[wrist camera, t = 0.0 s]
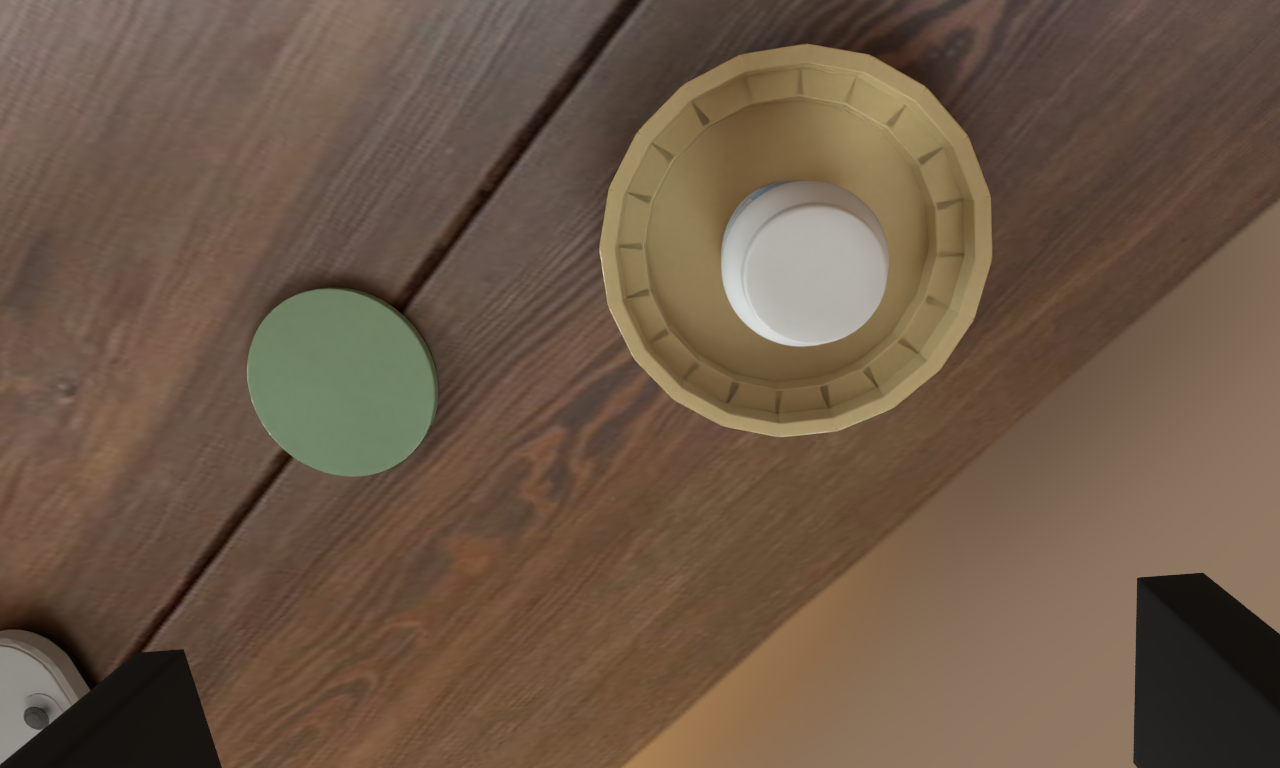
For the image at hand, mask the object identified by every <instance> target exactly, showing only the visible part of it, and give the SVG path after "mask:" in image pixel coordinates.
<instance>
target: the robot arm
mask: <svg viewBox="0 0 1280 768" xmlns="http://www.w3.org/2000/svg"><path fill="white" fill-rule="evenodd" d="M1136 619H1137V620H1136V666H1135V667H1136V668H1135V715H1134V761H1133V762H1134V764H1135V765H1136V766H1137V768H1280V634H1279V633H1277V632H1276V631H1275V630H1274V629H1272V628H1271V627H1270V626H1269V625H1267V624H1266V623H1265V622H1264V621H1262V620H1261V619H1260V618H1259V617H1257V616H1256V615H1255V614H1254V613H1252V612H1251V611H1250V610H1248V609H1247V608H1246V607H1245V606H1244V605H1242V604H1241V603H1240V602H1239V601H1238V600H1236V599H1235V598H1234V597H1233V596H1231V595H1230V594H1229V593H1228V592H1226V591H1225V590H1224V589H1223V588H1221V587H1220V586H1219V585H1218V584H1216V583H1215V582H1214V581H1213V580H1211V579H1210V578H1209V577H1208V576H1206V575H1205V574H1204V573H1194V574H1181V575H1168V576H1155V577H1141V578H1137V617H1136ZM0 768H222V767H221V764H220V761H219V758H218V755H217V752H216V749H215V745H214V742H213V739H212V736H211V733H210V730H209V727H208V724H207V721H206V718H205V714H204V711H203V708H202V705H201V702H200V699H199V696H198V693H197V690H196V687H195V683H194V680H193V677H192V674H191V671H190V668H189V665H188V662H187V659H186V656H185V653H184V649H182V650H169V651H155V652H142V653H136V654H134V655H133V656H132V657H131V658H129V659H128V660H127V661H126V662H125V663H123V664H122V665H121V666H120V667H118V668H117V669H116V670H115V671H114V672H112V673H111V674H110V675H109V676H108V677H106V678H105V679H104V680H103V681H101V682H100V683H99V684H98V685H97V686H95V687H94V688H93V689H92V690H90V691H89V692H88V693H87V694H86V695H84V696H83V697H82V698H81V699H79V700H78V701H77V702H76V703H75V704H73V705H72V706H71V707H70V708H68V709H67V710H66V711H65V712H64V713H62V714H61V715H60V716H59V717H58V718H56V719H55V720H54V721H53V722H51V723H50V724H49V725H48V726H47V727H45V728H44V729H43V730H42V731H40V732H39V733H38V734H37V735H36V736H34V737H33V738H32V739H31V740H29V741H28V742H27V743H26V744H25V745H23V746H22V747H21V748H20V749H19V750H17V751H16V752H15V753H14V754H12V755H11V756H10V757H9V758H8V759H6V760H5V761H4V762H3V763H1V764H0Z"/></svg>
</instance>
